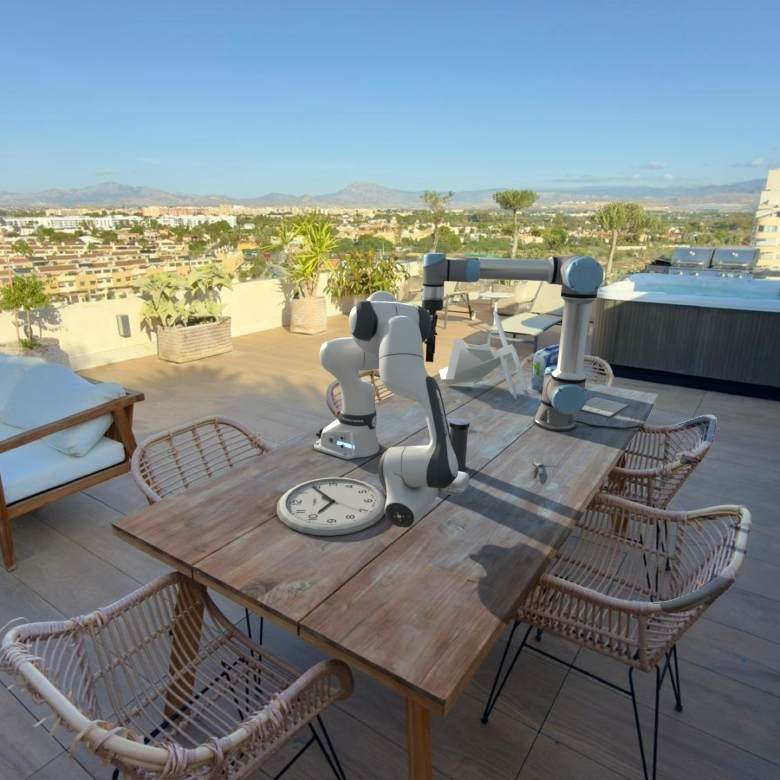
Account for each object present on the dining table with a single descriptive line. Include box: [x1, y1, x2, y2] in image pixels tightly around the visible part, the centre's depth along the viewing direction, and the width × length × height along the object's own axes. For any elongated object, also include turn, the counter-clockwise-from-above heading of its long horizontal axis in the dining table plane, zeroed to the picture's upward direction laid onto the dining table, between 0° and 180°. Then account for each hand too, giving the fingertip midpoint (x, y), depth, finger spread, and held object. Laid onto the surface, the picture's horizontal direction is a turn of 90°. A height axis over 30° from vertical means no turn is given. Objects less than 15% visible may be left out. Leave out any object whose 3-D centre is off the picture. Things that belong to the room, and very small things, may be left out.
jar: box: [449, 427, 469, 472], centre depth 164 cm, size 5×5×15 cm
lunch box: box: [530, 344, 560, 393], centre depth 247 cm, size 26×11×21 cm, turn 134°
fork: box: [533, 454, 544, 480], centre depth 165 cm, size 3×16×2 cm, turn 160°
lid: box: [448, 417, 470, 430], centre depth 162 cm, size 6×6×2 cm
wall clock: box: [276, 476, 387, 537], centre depth 142 cm, size 30×2×30 cm
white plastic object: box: [438, 310, 531, 400], centre depth 245 cm, size 37×45×31 cm
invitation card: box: [580, 396, 629, 418], centre depth 226 cm, size 21×1×15 cm
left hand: (438, 465), depth 144 cm, fingers open, 8 cm apart
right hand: (430, 357), depth 190 cm, fingers open, 13 cm apart
